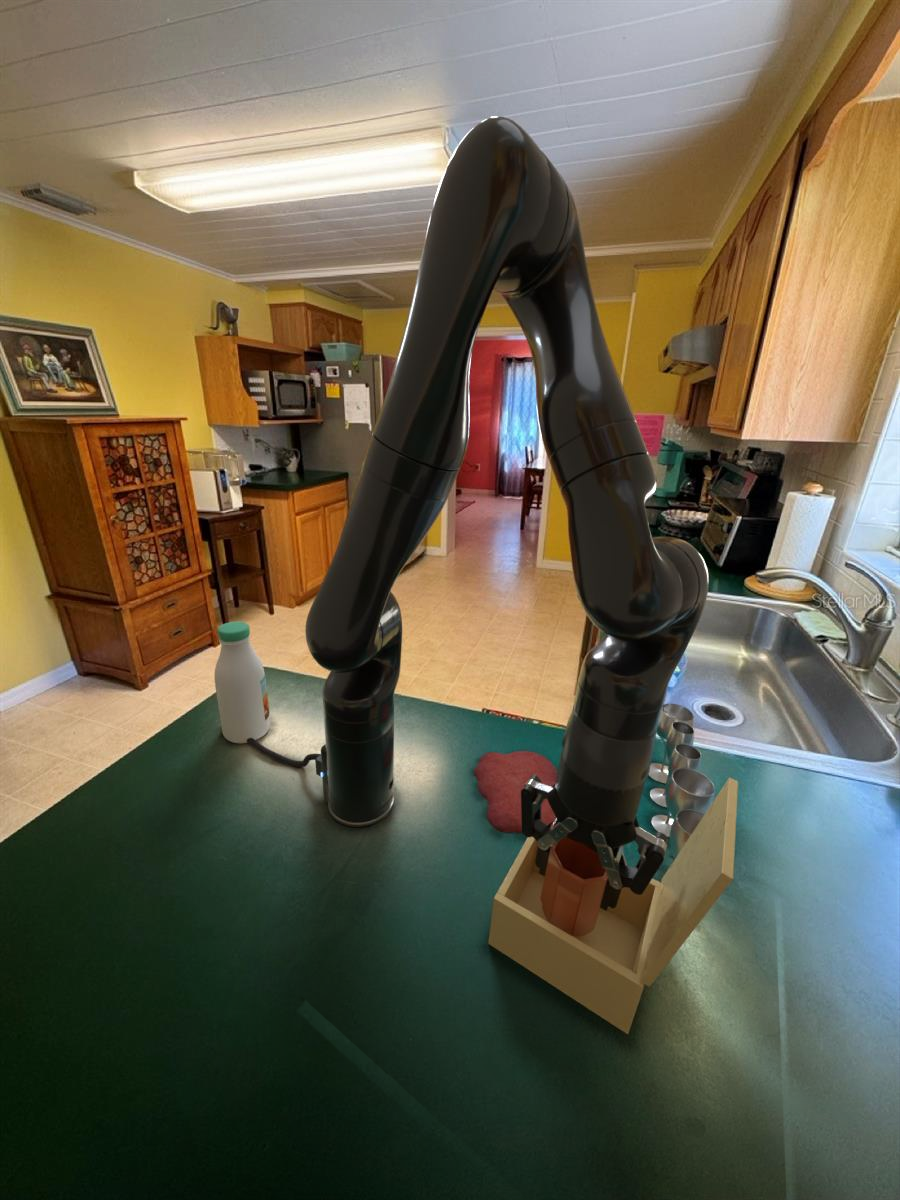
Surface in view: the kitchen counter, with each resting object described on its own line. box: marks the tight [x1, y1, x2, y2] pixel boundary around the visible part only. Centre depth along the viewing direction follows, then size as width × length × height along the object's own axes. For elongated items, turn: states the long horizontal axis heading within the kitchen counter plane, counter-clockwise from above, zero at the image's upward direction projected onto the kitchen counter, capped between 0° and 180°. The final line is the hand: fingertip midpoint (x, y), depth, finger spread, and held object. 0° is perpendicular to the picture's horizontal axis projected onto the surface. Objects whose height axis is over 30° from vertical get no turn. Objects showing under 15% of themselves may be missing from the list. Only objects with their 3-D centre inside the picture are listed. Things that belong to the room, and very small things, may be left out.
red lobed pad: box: [473, 750, 558, 834], centre depth 71 cm, size 18×14×2 cm
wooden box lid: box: [641, 777, 739, 988], centre depth 42 cm, size 16×12×1 cm
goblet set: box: [648, 703, 716, 858], centre depth 65 cm, size 28×6×13 cm, turn 161°
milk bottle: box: [214, 621, 271, 744], centre depth 78 cm, size 8×8×20 cm
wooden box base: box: [488, 837, 661, 1035], centre depth 50 cm, size 15×12×8 cm
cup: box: [540, 835, 608, 937], centre depth 49 cm, size 6×6×8 cm
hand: (574, 884), depth 49 cm, fingers closed on cup, 6 cm apart
